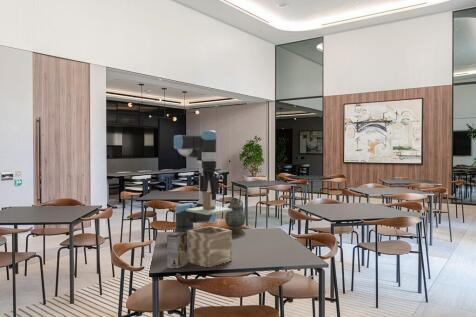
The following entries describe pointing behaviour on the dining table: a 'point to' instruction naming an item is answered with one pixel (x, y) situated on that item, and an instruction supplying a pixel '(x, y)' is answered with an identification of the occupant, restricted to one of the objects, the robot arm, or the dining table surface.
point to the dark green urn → (235, 218)
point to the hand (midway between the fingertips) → (209, 205)
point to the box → (209, 246)
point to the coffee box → (176, 250)
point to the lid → (208, 206)
